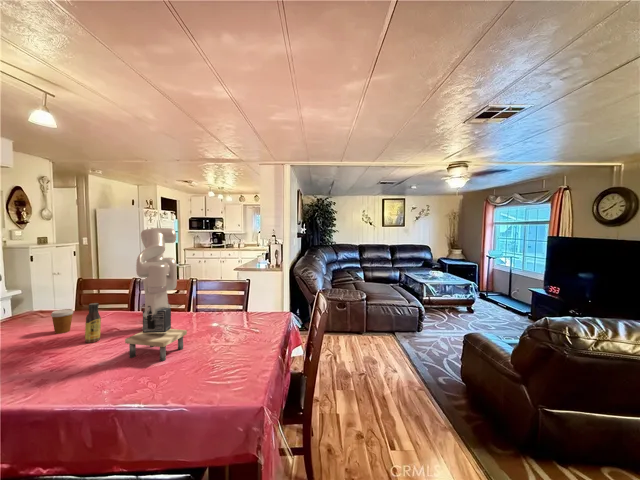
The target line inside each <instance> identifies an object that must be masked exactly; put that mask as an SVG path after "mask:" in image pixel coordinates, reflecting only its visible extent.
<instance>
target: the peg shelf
mask: <svg viewBox="0 0 640 480" xmlns="http://www.w3.org/2000/svg"><path fill="white" fill-rule="evenodd" d="M187 334H188V330H187V329H176V328H170V329H169V330H168V331H166V332H161V333H143V330H142V331H140V332H138V333H136V334H134V335H132V336H129V337H127V338H124V344H127V345H128V344H129V352H128V354H129V359H133V358H135V357H136V356H137V355H136V354H137V353H136V352H137V348H136V347H137V346H136V345H139V346H148V347H150V348H154V347H158V348H159V362H165V361H166V360H167V359H166V358H167V354H166V353H167V346H168V345H170V344H172V343H173V342H175V341H177V350H178V351H182V350H184V337H185V336H187Z"/></svg>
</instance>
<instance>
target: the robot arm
mask: <svg viewBox="0 0 640 480" xmlns="http://www.w3.org/2000/svg"><path fill="white" fill-rule="evenodd" d="M140 238H141V241H142V244H143V246H144V248H145V249H143V250H142V251H141V252H140V253H139V254H138V256H137V258H136V265H135V266H136V267H135V270H136V275H137V276H138V277H139V278H142V279H143V283H142V284H143V290H144V300H145V301H144V303H145V305H144V306H145V307H144V310H145V312H144V313H143V312H142V317H143V316H144V317H145V319H146V320H147V321H148V329H154V320H153V319H154V317H155V315H156V314H157V311H159V310H161V309H164V308H171V304H170V303H169V298H168V292H167V291H174V290H176V288H177V285H178V282H177V281H178V277H177V275H178V273H177V261H176V258H174V257H163V254H164V253H165V250H166V244H173V243H175V242H176V240H177V233H176V230H175V229H174V228H169V227H167V228H166V227H154V228H153V227H152V228H147V229H143V230H141V233H140ZM150 311H151V312H152V314H150ZM148 313H149V314H148ZM150 315H152V317H150ZM141 330H142V331H143V326H141Z"/></svg>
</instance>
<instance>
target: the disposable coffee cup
mask: <svg viewBox="0 0 640 480" xmlns="http://www.w3.org/2000/svg"><path fill="white" fill-rule="evenodd" d="M74 313H75V311H73V309H72V308H64V309H59V310H54V311H52V312H51V314H50V317H52V324H53V329H54V333H55V334H58V335H60V334H65V333H68V332H69V333H70V331H71V325H72V320H73V315H74Z"/></svg>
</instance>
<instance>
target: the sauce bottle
mask: <svg viewBox="0 0 640 480" xmlns="http://www.w3.org/2000/svg"><path fill="white" fill-rule="evenodd" d="M99 305H100V303H98V302H94V303H93V302H92V303H89V304H88V314H87V315H86V318H85V324H84V325H85V327H84V329H85V330H84V340H85V341H84V342H85V343H87V344H91V343H96V342H99V341H100V340H101V326H102V325H101V324H102V322H101V321H102V319H101V315H100V312H99Z"/></svg>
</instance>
